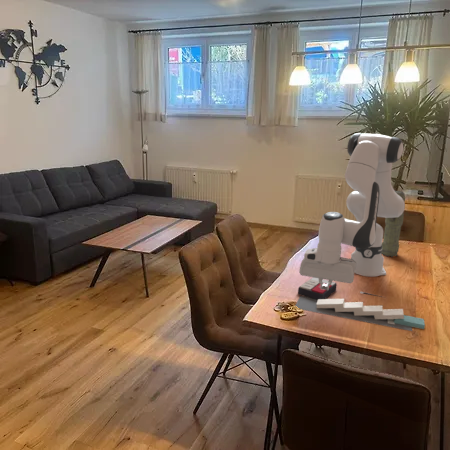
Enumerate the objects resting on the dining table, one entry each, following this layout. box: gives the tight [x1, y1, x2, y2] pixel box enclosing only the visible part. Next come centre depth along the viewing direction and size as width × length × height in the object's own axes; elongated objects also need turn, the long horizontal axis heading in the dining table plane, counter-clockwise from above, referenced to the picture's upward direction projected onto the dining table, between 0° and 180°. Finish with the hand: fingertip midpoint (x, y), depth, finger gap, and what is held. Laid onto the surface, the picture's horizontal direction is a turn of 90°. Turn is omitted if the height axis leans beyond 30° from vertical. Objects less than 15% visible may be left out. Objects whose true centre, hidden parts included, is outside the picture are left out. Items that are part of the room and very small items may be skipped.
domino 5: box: [394, 314, 426, 330], centre depth 153 cm, size 2×5×10 cm
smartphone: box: [359, 291, 387, 299], centre depth 174 cm, size 7×15×1 cm, turn 59°
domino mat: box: [294, 295, 413, 332], centre depth 160 cm, size 12×42×1 cm, turn 70°
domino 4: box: [374, 308, 405, 319], centre depth 155 cm, size 2×5×10 cm
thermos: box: [381, 190, 406, 258], centre depth 228 cm, size 9×12×35 cm
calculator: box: [297, 277, 338, 300], centre depth 177 cm, size 11×4×15 cm
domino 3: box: [354, 305, 384, 316], centre depth 158 cm, size 2×5×10 cm
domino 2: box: [335, 301, 364, 312], centre depth 160 cm, size 2×5×10 cm
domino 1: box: [316, 298, 345, 308], centre depth 162 cm, size 2×5×10 cm
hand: (324, 289), depth 162 cm, fingers closed
